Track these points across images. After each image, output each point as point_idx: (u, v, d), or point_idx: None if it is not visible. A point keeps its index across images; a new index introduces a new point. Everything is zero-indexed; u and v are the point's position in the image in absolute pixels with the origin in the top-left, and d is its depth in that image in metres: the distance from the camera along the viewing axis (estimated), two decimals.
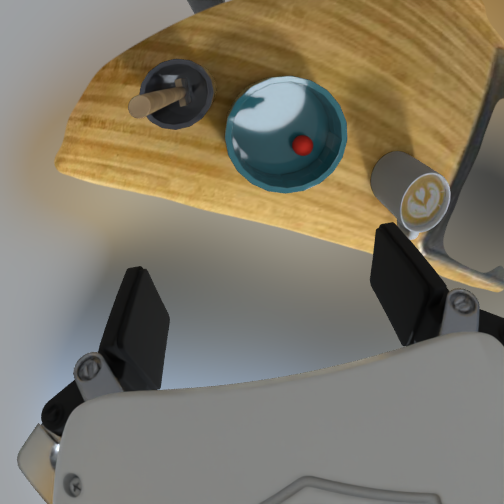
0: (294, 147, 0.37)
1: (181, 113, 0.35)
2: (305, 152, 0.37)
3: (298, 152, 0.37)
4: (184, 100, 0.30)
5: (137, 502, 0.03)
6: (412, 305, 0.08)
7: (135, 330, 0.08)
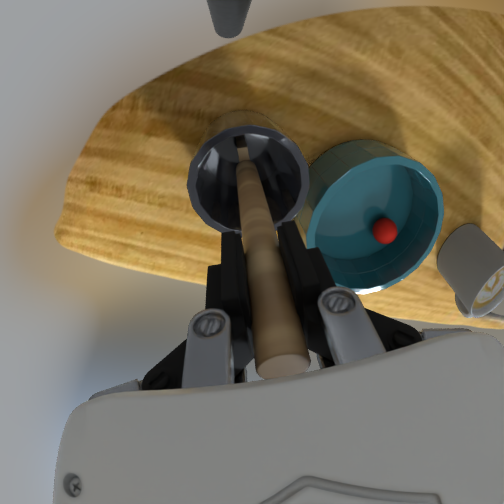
0: (377, 235, 0.29)
1: (235, 184, 0.27)
2: (389, 241, 0.29)
3: (381, 241, 0.30)
4: None
5: (137, 502, 0.03)
6: (294, 301, 0.09)
7: (246, 287, 0.09)
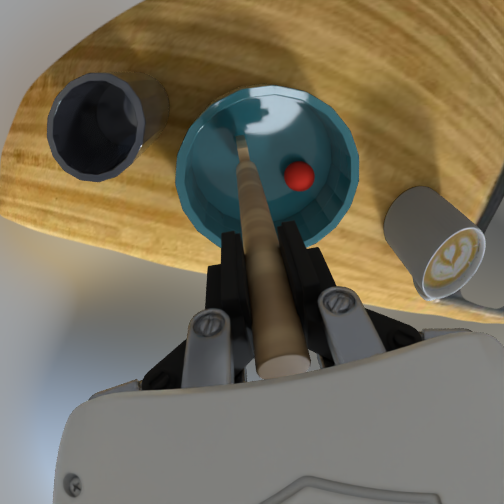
0: (292, 173, 0.26)
1: (124, 144, 0.25)
2: (307, 182, 0.26)
3: (296, 181, 0.26)
4: None
5: (137, 502, 0.03)
6: (294, 301, 0.09)
7: (246, 286, 0.09)
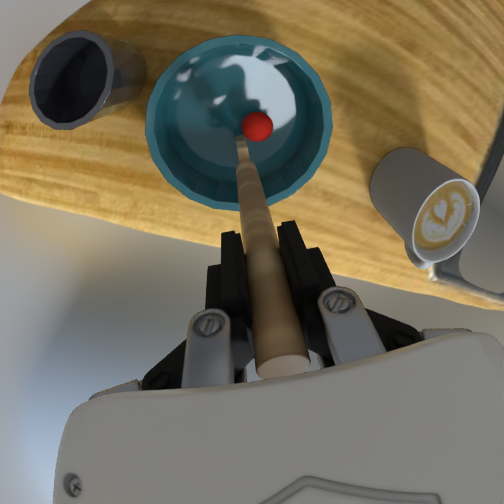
0: (244, 119, 0.25)
1: None
2: (247, 126, 0.24)
3: (242, 125, 0.25)
4: None
5: (137, 502, 0.03)
6: (294, 301, 0.09)
7: (246, 286, 0.09)
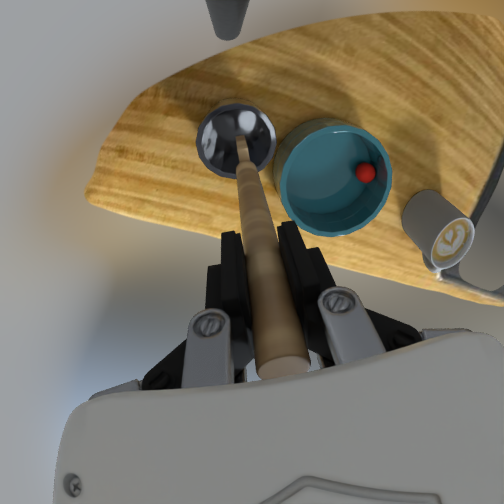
0: (370, 167, 0.36)
1: (228, 151, 0.36)
2: None
3: (373, 167, 0.37)
4: None
5: (137, 502, 0.03)
6: (294, 301, 0.09)
7: (245, 286, 0.09)
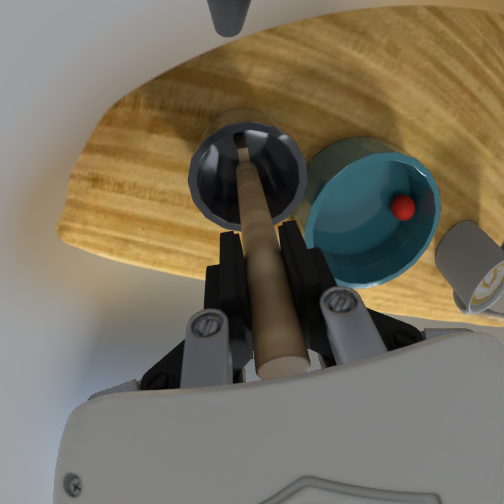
0: (409, 202, 0.28)
1: (234, 181, 0.28)
2: None
3: (413, 203, 0.28)
4: None
5: (137, 502, 0.03)
6: (296, 301, 0.09)
7: (244, 287, 0.09)
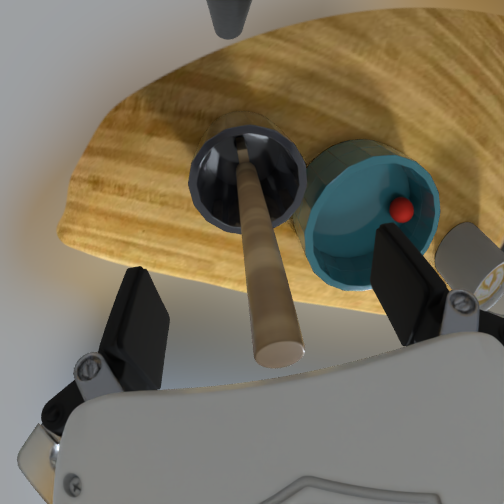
0: (406, 205, 0.28)
1: (234, 183, 0.28)
2: None
3: (411, 206, 0.28)
4: None
5: (137, 502, 0.03)
6: (412, 305, 0.08)
7: (135, 330, 0.08)
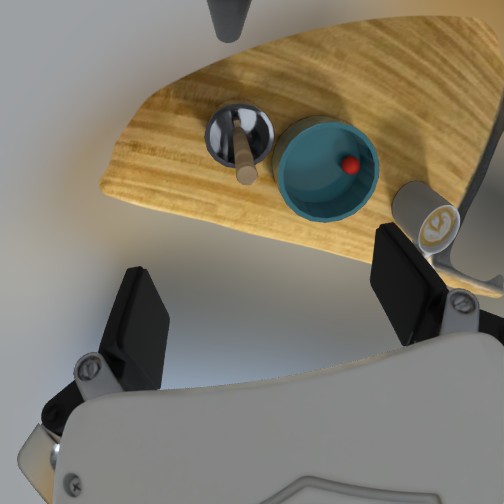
0: (351, 160, 0.40)
1: (232, 146, 0.41)
2: None
3: (356, 162, 0.40)
4: None
5: (137, 502, 0.03)
6: (412, 305, 0.08)
7: (135, 330, 0.08)
